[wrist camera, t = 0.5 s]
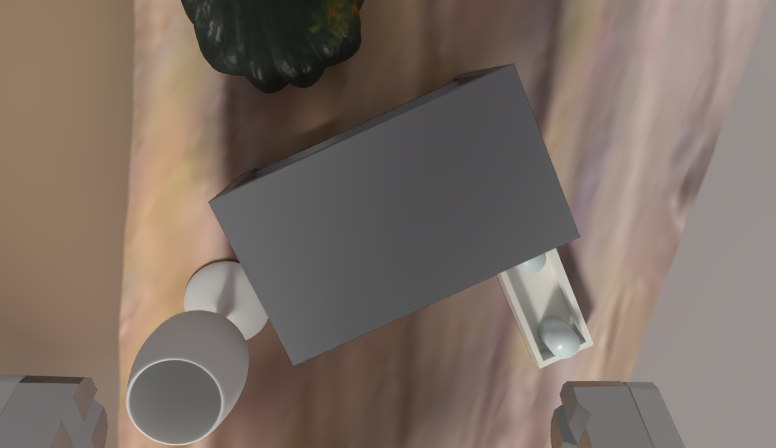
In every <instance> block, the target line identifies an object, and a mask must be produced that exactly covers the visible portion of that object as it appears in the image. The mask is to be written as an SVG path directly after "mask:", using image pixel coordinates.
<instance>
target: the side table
mask: <svg viewBox="0 0 776 448" xmlns="http://www.w3.org/2000/svg"><path fill="white" fill-rule="evenodd" d="M208 203H209V204H210V206H211V208H212V210H213V212H214V214H215V216H216V218H217V220H218V222H219V224H220V226H221V228H222V229H223V231H224V233H225V235H226V237H227V239H228V241H229V243H230V245H231V247H232V249H233V251H234V253H235V254H236V256H237V258H238V260H239V262H240V264H241V266H242V268H243V270H244V272H245V274H246V276H247V278H248V280H249V281H250V283H251V285H252V287H253V289H254V291H255V293H256V295H257V297H258V299H259V301H260V303H261V305H262V306H263V308H264V310H265V312H266V314H267V316H268V318H269V320H270V322H271V324H272V326H273V328H274V330H275V331H276V333H277V335H278V337H279V339H280V341H281V343H282V345H283V347H284V349H285V351H286V353H287V355H288V357H289V358H290V360H291V362H292V364H293V366H295V365H297V364H299V363H302V362H304V361H306V360H308V359H310V358H313V357H315V356H317V355H319V354H322V353H324V352H326V351H328V350H330V349H333V348H335V347H337V346H339V345H342V344H344V343H346V342H348V341H350V340H353V339H355V338H357V337H359V336H362V335H364V334H366V333H368V332H370V331H373V330H375V329H377V328H379V327H382V326H384V325H386V324H388V323H390V322H393V321H395V320H397V319H399V318H402V317H404V316H406V315H408V314H410V313H413V312H415V311H417V310H419V309H422V308H424V307H426V306H428V305H430V304H433V303H435V302H437V301H439V300H442V299H444V298H446V297H448V296H450V295H453V294H455V293H457V292H459V291H462V290H464V289H466V288H468V287H470V286H473V285H475V284H477V283H479V282H482V281H484V280H486V279H488V278H490V277H493V276H495V275H497V274H499V273H502V272H504V271H506V270H508V269H510V268H513V267H515V266H517V265H519V264H522V263H524V262H526V261H528V260H530V259H533V258H535V257H537V256H539V255H542V254H544V253H546V252H548V251H550V250H553V249H555V248H557V247H559V246H562V245H564V244H566V243H568V242H570V241H573V240H575V239H577V238H579V237H580V235H579V233H578V230H577V228H576V225H575V222H574V220H573V217H572V214H571V212H570V209H569V207H568V204H567V201H566V199H565V196H564V194H563V191H562V188H561V186H560V183H559V180H558V178H557V175H556V173H555V170H554V167H553V165H552V162H551V159H550V157H549V154H548V152H547V149H546V146H545V144H544V141H543V138H542V136H541V133H540V131H539V128H538V125H537V123H536V120H535V118H534V115H533V112H532V110H531V107H530V104H529V102H528V99H527V97H526V94H525V91H524V89H523V86H522V83H521V81H520V78H519V76H518V73H517V70H516V68H515V65H514V64H509V65H504V66H498V67H493V68H488V69H482V70H477V71H472V72H467V73H465V74H463V75H461V76H459V77H456V78H454V82H452V83H449V84H447V85H445V86H443V87H441V88H438V89H436V90H434V91H432V92H430V93H427V94H425V95H423V96H421V97H419V98H416V99H414V100H412V101H410V102H408V103H405V104H403V105H401V106H399V107H397V108H394V109H392V110H390V111H388V112H386V113H383V114H381V115H379V116H377V117H374V118H372V119H370V120H368V121H366V122H363V123H361V124H359V125H357V126H355V127H352V128H350V129H348V130H346V131H344V132H341V133H339V134H337V135H335V136H333V137H330V138H328V139H326V140H324V141H322V142H319V143H317V144H315V145H313V146H311V147H308V148H306V149H304V150H302V151H300V152H297V153H295V154H293V155H291V156H289V157H286V158H284V159H282V160H280V161H277V162H275V163H273V164H271V165H269V166H266V167H264V168H262V169H260V170H258V171H257V170H256V169H254V170H251V171H249V172H247V173H245V174H243V175H241V176H240V177H238V178H237V179H236V180H235V181H234V182H232V183H231V184H230V185H229V186H227V187H226V188H225V189H224V190H223V191H221V192H220V193H219V194H218V195H216V196H215V197H214V198H213V199H211V200H210V201H209V202H208Z"/></svg>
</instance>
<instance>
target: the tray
mask: <svg viewBox="0 0 776 448" xmlns="http://www.w3.org/2000/svg"><path fill="white" fill-rule="evenodd" d="M497 277H498V279H499V282H500V284H501V286H502V289H503V291H504V293H505V296H506V298H507V301H508V303H509V305H510V308H511V310H512V312H513V315H514V317H515V320H516V322H517V324H518V327H519V329H520V331H521V334H522V336H523V339H524V341H525V343H526V346H527V348H528V351H529V353H530V355H531V357H532V359H533V360H534V361H535V363H536V364H537V365H538V367H539V368H543V367H545V366H547V365H549V364H551V363H554V362H556V361H558V360H560V359H566V358H570V357H572V356H574V355H575V354H576V353H577V352H578V351H580V350H583V349H585V348H587V347H589V346H592V345H594V344H593V342H592V339H591V336H590V334H589V331H588V329H587V326H586V324H585V321H584V319H583V316H582V314H581V311H580V308H579V306H578V303H577V301H576V298H575V296H574V293H573V291H572V288H571V286H570V283H569V280H568V278H567V275H566V273H565V270H564V268H563V265H562V263H561V260H560V258H559V255H558V252H557V250H556V248H555V249H553V250H550V251H548V252H546V253H544V254H542V255H539V256H537V257H535V258H533V259H530V260H528V261H526V262H524V263H522V264H519V265H517V266H515V267H513V268H510V269H508V270H506V271H504V272H502V273H499V274H497Z"/></svg>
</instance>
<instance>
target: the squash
mask: <svg viewBox="0 0 776 448" xmlns="http://www.w3.org/2000/svg"><path fill="white" fill-rule="evenodd" d="M363 1H364V0H181V2H182V4H183V7H184V10H185V12H186V14H187V16H188V18H189V19H190V21H191V22H192V23H193V24H194V29H195V33H196V37H197V40H198V43H199V47H200V50H201V52H202V54H203V56H204V58H205V59H206V60H207V62H208V63H209V64H210V65H211V66H212V68H214V69H215V70H217V71H218V72H221V73H226V74H230V75H238V76H245V77H246V78H247V79H248V80H249V81H250V82H251V83H252V84H253V85H254V86H256V87H257V88H258V89H260V90H261V91H263V92H264V93H276V92H278V91H280V90H282V89H283V88H284V87H285V86H286V85H287V84H288V83H290V84H292V85H294V86H297V87H299V88H307V87H310V86H312V85H313V84H314V83H315V82H317V81H318V79H319V78H320V77H321V76H322V74H323V72H324V70H325V68H326V67H329V66H332V65H335V64H339V63H341V62H343V61H345V60H347V59H349V58H350V57H352V56H353V55H354V54H355V53H356V52H357V51H358V50H359V48H360V44H361V31H360V29H361V22H360V17H359V10H360V8H361V6H362V4H363Z"/></svg>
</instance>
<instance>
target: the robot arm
mask: <svg viewBox="0 0 776 448" xmlns="http://www.w3.org/2000/svg"><path fill="white" fill-rule="evenodd" d="M96 392H97V388H96V386H95V383H94V381H93V379H92V378H91V377H90V378H89V377H61V376H60V377H58V376H32V375H31V376H29V375H0V448H104V447H105V443H106V437H107V430H108V423H107V414H106V412H105V409H104V406H103V405H101V404H100V403H98V402H96V401H95V400H94V397H95V394H96ZM560 397H561V401H562V405H561V406H559V407H558V408H556V409H555V410H554V413H553V417H552V420H551V435H550V437H551V445H552V448H685V446H684V444H683V442H682V440H681V438H680V435H679V433H678V431H677V429H676V427H675V424H674V422H673V420H672V418H671V416H670V413H669V411H668V409H667V407H666V405H665V403H664V400H663V398H662V396H661V394H660V392H659V389H658V387H656V385H655V384H654V383H653V382H621V381H567V382H566V383H565V384H564V385H563V386H562V389H561V392H560Z"/></svg>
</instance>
